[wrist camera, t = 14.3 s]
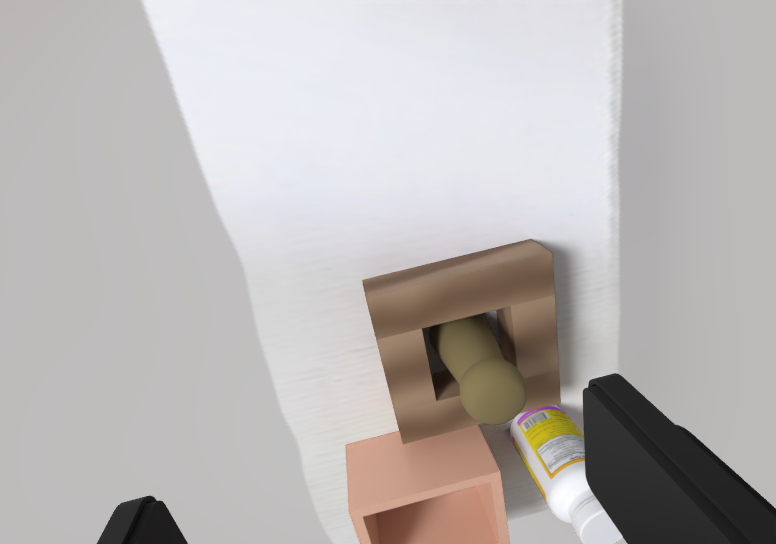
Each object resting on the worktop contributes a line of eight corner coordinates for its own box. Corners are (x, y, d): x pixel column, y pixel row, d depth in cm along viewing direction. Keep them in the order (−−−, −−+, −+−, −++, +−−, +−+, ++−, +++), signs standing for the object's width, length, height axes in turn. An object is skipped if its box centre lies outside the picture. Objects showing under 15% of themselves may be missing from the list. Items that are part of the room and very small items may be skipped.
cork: (499, 334, 42) (554, 406, 32) (451, 369, 43) (489, 450, 33) (467, 293, 40) (514, 356, 30) (417, 331, 41) (446, 405, 31)
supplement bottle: (550, 450, 49) (621, 559, 37) (499, 443, 48) (556, 555, 36) (573, 403, 47) (657, 503, 35) (521, 395, 45) (589, 496, 34)
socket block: (362, 280, 38) (365, 298, 34) (530, 238, 39) (552, 252, 35) (396, 416, 44) (402, 444, 40) (541, 378, 45) (560, 402, 41)
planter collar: (345, 445, 45) (348, 512, 37) (472, 411, 45) (500, 471, 38) (369, 521, 49) (377, 594, 42) (484, 490, 50) (511, 556, 42)
